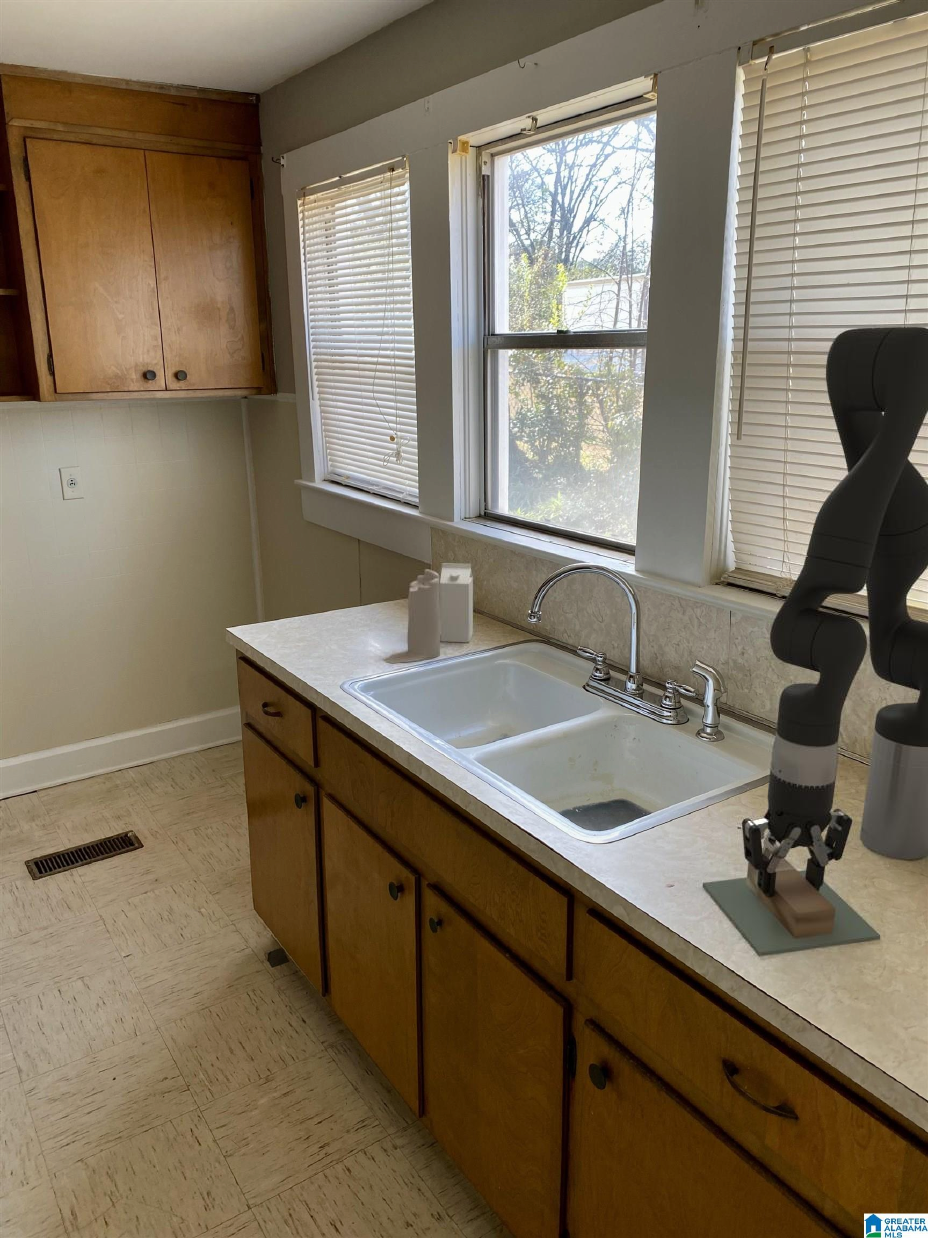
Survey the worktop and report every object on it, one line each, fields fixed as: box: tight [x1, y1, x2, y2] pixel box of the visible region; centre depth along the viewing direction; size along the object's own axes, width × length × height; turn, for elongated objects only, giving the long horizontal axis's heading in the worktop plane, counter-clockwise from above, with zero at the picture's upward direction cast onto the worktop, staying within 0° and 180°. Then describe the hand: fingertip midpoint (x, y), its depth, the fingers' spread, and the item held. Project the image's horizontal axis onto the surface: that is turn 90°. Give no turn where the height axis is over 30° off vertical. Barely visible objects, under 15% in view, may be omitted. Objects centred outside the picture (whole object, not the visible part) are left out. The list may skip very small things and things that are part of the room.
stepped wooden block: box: [746, 857, 836, 939], centre depth 116 cm, size 12×5×4 cm, turn 12°
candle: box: [382, 568, 441, 664], centre depth 211 cm, size 7×14×20 cm, turn 121°
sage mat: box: [702, 869, 881, 957], centre depth 117 cm, size 16×15×1 cm
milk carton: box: [439, 562, 474, 643], centre depth 225 cm, size 7×7×19 cm
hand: (789, 890), depth 116 cm, fingers open, 5 cm apart
